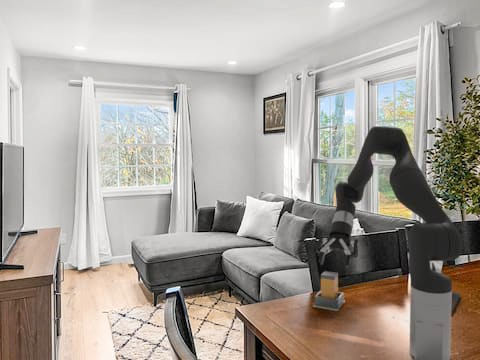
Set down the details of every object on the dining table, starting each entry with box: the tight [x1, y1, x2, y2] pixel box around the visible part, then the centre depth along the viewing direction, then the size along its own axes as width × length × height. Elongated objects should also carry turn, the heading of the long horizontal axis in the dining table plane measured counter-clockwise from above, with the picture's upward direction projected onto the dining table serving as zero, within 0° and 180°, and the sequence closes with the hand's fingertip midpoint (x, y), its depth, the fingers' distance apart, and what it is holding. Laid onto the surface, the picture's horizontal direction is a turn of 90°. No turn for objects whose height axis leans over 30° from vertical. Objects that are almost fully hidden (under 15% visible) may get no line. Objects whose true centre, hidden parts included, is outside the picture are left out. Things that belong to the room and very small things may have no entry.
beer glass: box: [430, 261, 444, 273], centre depth 151 cm, size 7×7×15 cm
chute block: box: [320, 270, 339, 299], centre depth 132 cm, size 4×4×10 cm
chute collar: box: [314, 289, 345, 310], centre depth 132 cm, size 8×8×3 cm
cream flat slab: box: [312, 299, 346, 312], centre depth 132 cm, size 10×8×1 cm
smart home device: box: [451, 292, 461, 316], centre depth 134 cm, size 8×2×20 cm
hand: (333, 264), depth 136 cm, fingers open, 8 cm apart
